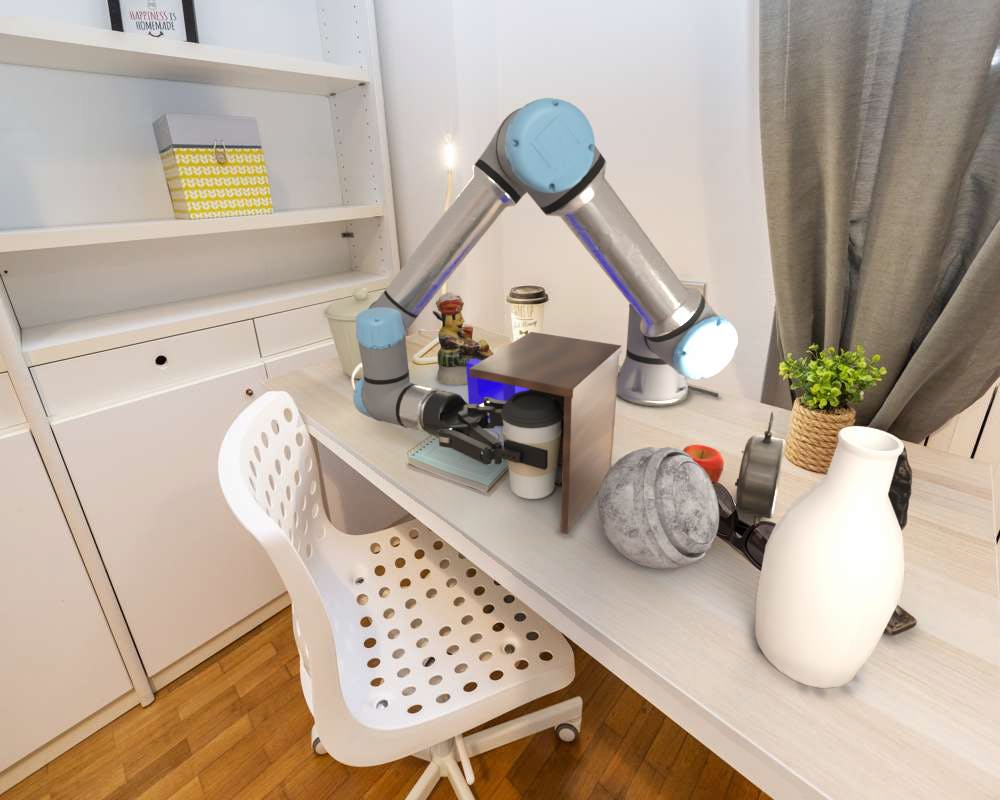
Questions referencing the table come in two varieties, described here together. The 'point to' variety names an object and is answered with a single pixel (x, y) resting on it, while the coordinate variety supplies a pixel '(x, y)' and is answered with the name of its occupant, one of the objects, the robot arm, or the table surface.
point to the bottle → (834, 566)
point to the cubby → (568, 404)
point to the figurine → (456, 342)
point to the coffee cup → (533, 439)
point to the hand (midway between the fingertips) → (560, 444)
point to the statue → (900, 503)
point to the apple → (707, 460)
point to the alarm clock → (760, 474)
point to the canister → (348, 327)
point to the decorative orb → (659, 508)
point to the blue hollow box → (488, 388)
